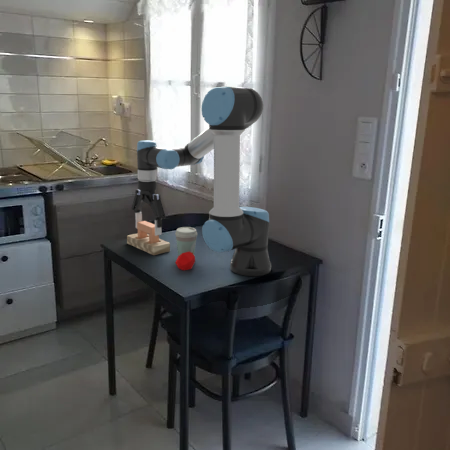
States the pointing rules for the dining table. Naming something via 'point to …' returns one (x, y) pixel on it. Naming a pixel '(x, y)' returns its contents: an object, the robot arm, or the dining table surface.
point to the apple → (185, 261)
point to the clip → (147, 231)
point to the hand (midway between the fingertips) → (148, 231)
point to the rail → (148, 244)
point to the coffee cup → (186, 239)
